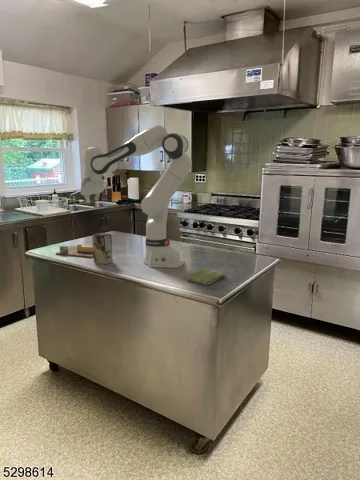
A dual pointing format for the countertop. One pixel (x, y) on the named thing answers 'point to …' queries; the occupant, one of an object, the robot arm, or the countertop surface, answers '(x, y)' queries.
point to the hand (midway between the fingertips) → (92, 201)
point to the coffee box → (102, 248)
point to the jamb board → (73, 252)
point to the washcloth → (205, 276)
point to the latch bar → (84, 248)
